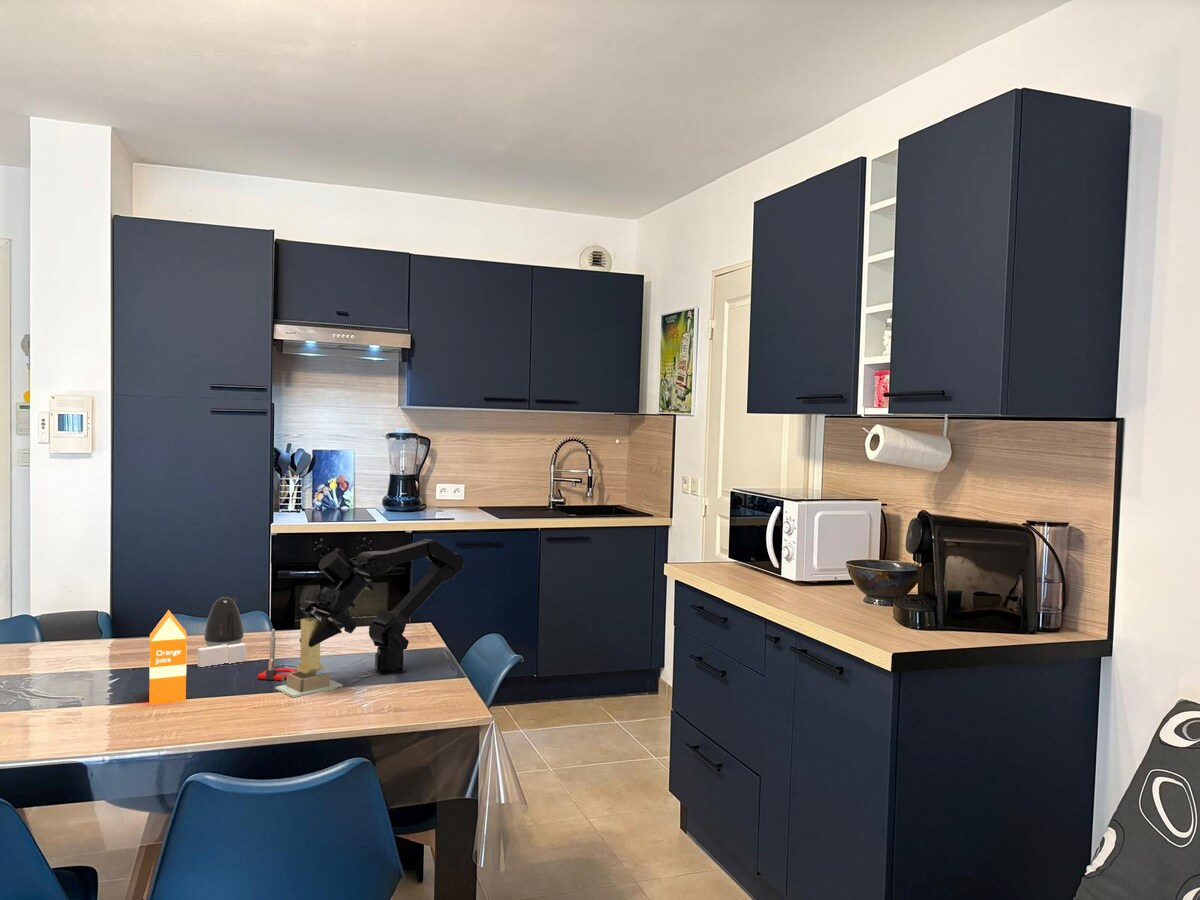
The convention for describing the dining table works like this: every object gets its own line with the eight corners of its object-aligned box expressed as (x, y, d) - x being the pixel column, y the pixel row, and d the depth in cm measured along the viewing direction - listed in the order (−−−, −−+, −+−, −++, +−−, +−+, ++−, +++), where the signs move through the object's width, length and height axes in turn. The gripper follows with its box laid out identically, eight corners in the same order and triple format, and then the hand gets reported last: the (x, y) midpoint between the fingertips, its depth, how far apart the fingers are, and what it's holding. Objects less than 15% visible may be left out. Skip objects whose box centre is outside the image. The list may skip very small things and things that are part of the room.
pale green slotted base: (323, 679, 220) (324, 665, 220) (342, 686, 214) (342, 672, 214) (275, 689, 210) (275, 674, 210) (293, 697, 204) (293, 682, 204)
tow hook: (273, 671, 227) (253, 679, 218) (275, 622, 227) (256, 628, 218) (302, 673, 226) (284, 682, 217) (305, 624, 226) (287, 630, 217)
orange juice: (148, 705, 197) (149, 618, 196) (148, 694, 204) (150, 610, 204) (186, 700, 200) (187, 615, 200) (185, 690, 208) (186, 608, 208)
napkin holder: (186, 672, 224) (187, 650, 224) (203, 660, 236) (203, 639, 236) (245, 672, 225) (246, 651, 225) (259, 661, 237) (260, 640, 237)
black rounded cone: (251, 647, 249) (252, 595, 249) (227, 656, 239) (228, 601, 238) (220, 644, 251) (221, 592, 251) (196, 653, 241) (196, 599, 241)
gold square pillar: (315, 666, 215) (315, 616, 215) (323, 669, 213) (324, 619, 212) (296, 670, 212) (297, 619, 211) (304, 673, 209) (305, 622, 208)
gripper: (307, 569, 221) (265, 618, 213) (345, 579, 208) (302, 632, 200) (334, 595, 227) (294, 644, 219) (373, 606, 214) (332, 659, 206)
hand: (305, 644), depth 211 cm, fingers closed on gold square pillar, 4 cm apart
